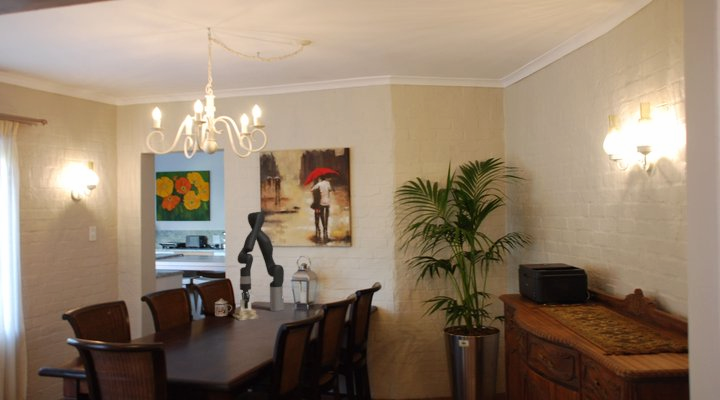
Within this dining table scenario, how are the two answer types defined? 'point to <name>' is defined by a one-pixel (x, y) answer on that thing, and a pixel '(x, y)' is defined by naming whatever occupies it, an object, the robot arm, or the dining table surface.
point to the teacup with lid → (221, 308)
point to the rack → (245, 314)
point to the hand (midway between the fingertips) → (245, 307)
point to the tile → (242, 305)
